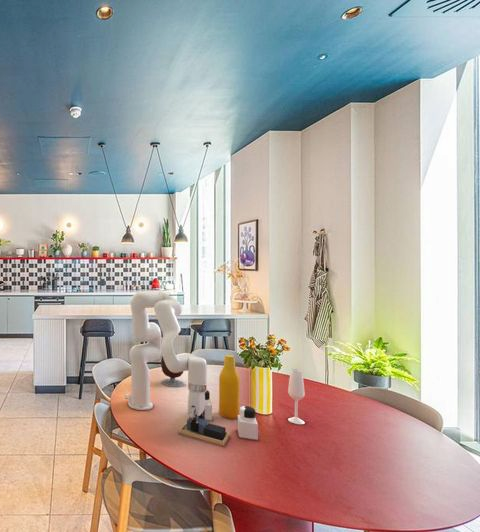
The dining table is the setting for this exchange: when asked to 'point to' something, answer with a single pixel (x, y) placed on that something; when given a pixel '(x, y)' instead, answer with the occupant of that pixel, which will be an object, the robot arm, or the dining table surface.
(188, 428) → the blue block
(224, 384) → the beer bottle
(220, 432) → the pad
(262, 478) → the dining table surface
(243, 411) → the medicine bottle
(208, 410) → the container
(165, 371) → the mate gourd
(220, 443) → the wooden tray
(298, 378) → the champagne flute
